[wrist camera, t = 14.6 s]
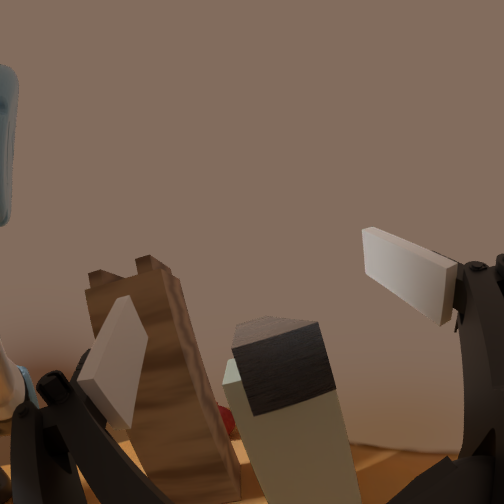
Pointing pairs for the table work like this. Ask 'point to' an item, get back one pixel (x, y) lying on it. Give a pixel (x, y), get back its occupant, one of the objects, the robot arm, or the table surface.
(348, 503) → the rest block
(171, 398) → the stand
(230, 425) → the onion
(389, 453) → the table surface
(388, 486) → the table surface
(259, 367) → the bar
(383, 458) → the table surface
